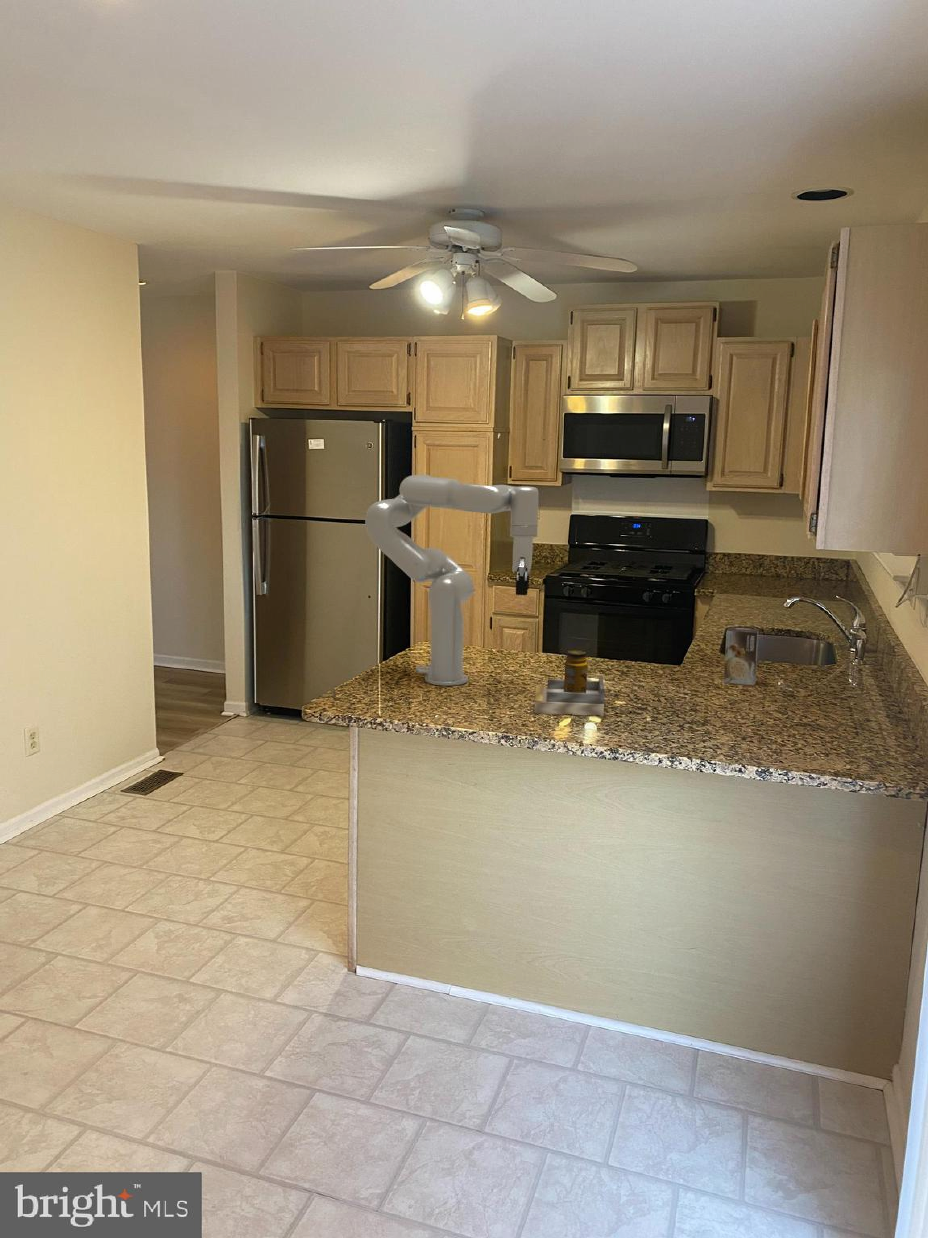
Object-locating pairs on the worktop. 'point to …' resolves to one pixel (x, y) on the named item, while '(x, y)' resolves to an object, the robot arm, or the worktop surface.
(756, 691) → the worktop surface
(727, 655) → the coffee box
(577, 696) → the dock
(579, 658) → the condiment
